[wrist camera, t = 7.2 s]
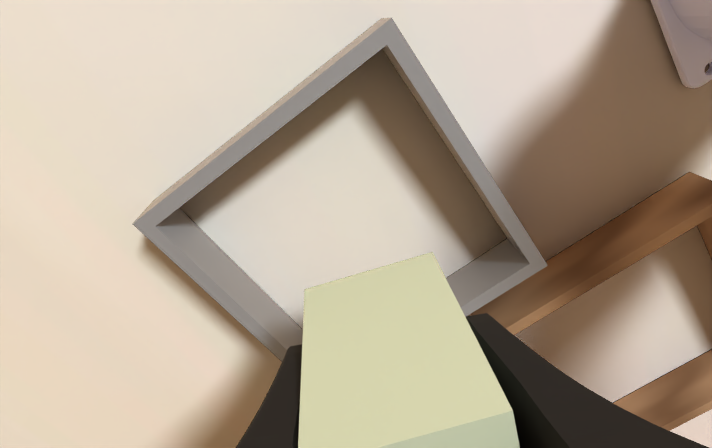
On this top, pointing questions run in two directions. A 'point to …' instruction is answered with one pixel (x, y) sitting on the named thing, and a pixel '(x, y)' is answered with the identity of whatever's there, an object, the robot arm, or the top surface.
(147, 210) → the grey bin
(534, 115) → the top surface
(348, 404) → the sage block
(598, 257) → the walnut bin
